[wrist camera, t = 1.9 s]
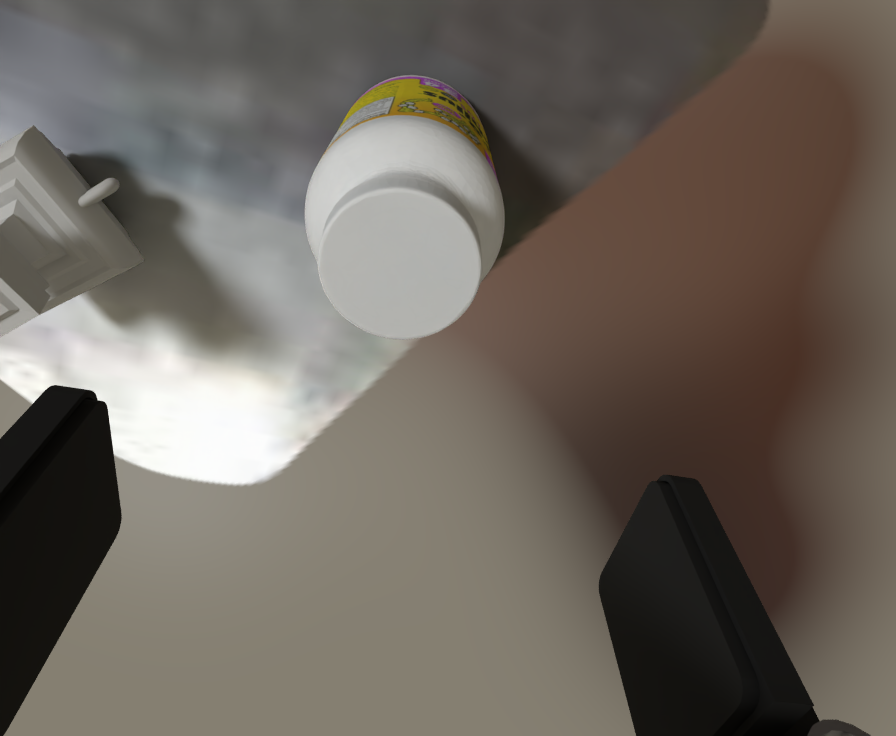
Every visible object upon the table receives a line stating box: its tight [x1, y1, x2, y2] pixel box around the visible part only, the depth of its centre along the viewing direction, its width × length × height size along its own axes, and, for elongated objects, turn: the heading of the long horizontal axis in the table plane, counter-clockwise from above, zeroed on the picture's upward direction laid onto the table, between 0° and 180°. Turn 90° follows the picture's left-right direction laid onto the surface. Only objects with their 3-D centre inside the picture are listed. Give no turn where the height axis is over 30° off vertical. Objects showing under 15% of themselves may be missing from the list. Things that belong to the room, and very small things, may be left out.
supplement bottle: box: [305, 75, 505, 340], centre depth 22 cm, size 7×7×13 cm
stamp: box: [0, 125, 145, 337], centre depth 25 cm, size 9×7×8 cm
